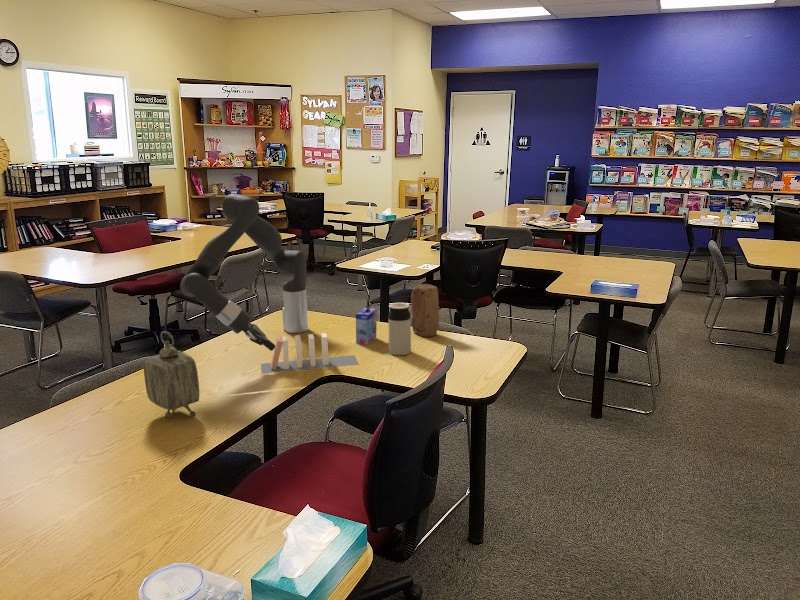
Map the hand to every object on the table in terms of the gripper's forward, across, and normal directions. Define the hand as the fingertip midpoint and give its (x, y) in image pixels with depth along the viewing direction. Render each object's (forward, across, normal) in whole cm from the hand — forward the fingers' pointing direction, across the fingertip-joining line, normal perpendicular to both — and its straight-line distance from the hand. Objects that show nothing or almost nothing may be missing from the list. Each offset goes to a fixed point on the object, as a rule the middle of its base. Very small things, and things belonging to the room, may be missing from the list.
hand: (273, 348), depth 212 cm
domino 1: (+4, 0, +5) cm, 7 cm away
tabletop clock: (-16, -31, +26) cm, 43 cm away
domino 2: (+8, 0, +2) cm, 8 cm away
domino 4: (+14, 0, -4) cm, 15 cm away
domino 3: (+11, 0, -1) cm, 11 cm away
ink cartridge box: (+31, +21, -20) cm, 42 cm away
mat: (+14, 0, -3) cm, 14 cm away
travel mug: (+37, +4, -26) cm, 46 cm away
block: (+48, +24, -37) cm, 65 cm away
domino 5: (+17, 0, -7) cm, 19 cm away
